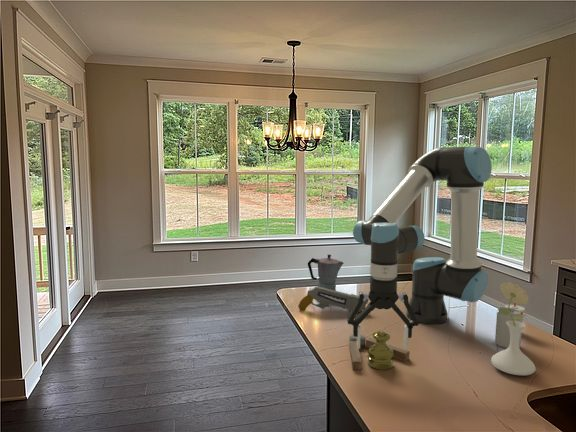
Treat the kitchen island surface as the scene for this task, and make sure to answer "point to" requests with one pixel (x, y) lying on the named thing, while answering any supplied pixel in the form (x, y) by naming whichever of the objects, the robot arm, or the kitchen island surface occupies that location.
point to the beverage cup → (516, 307)
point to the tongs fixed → (356, 351)
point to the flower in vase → (513, 337)
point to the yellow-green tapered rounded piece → (380, 352)
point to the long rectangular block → (398, 352)
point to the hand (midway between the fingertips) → (381, 347)
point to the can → (505, 327)
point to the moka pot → (326, 271)
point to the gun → (330, 299)
